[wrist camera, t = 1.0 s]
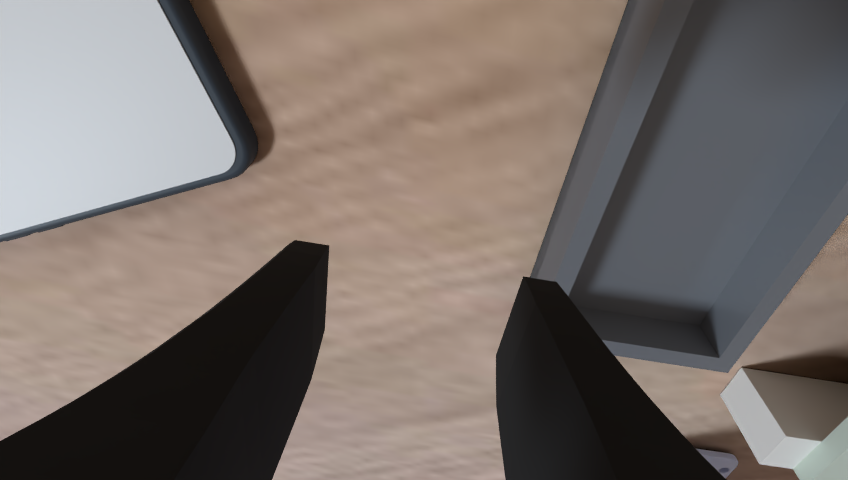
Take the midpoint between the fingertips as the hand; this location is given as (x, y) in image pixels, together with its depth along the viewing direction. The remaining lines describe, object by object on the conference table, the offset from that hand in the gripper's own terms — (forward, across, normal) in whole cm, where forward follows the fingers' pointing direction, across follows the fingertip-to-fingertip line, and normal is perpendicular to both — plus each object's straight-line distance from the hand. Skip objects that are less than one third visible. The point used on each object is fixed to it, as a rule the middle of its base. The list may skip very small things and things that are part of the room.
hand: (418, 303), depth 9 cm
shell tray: (+9, -9, 0) cm, 13 cm away
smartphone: (+10, +15, +2) cm, 18 cm away
